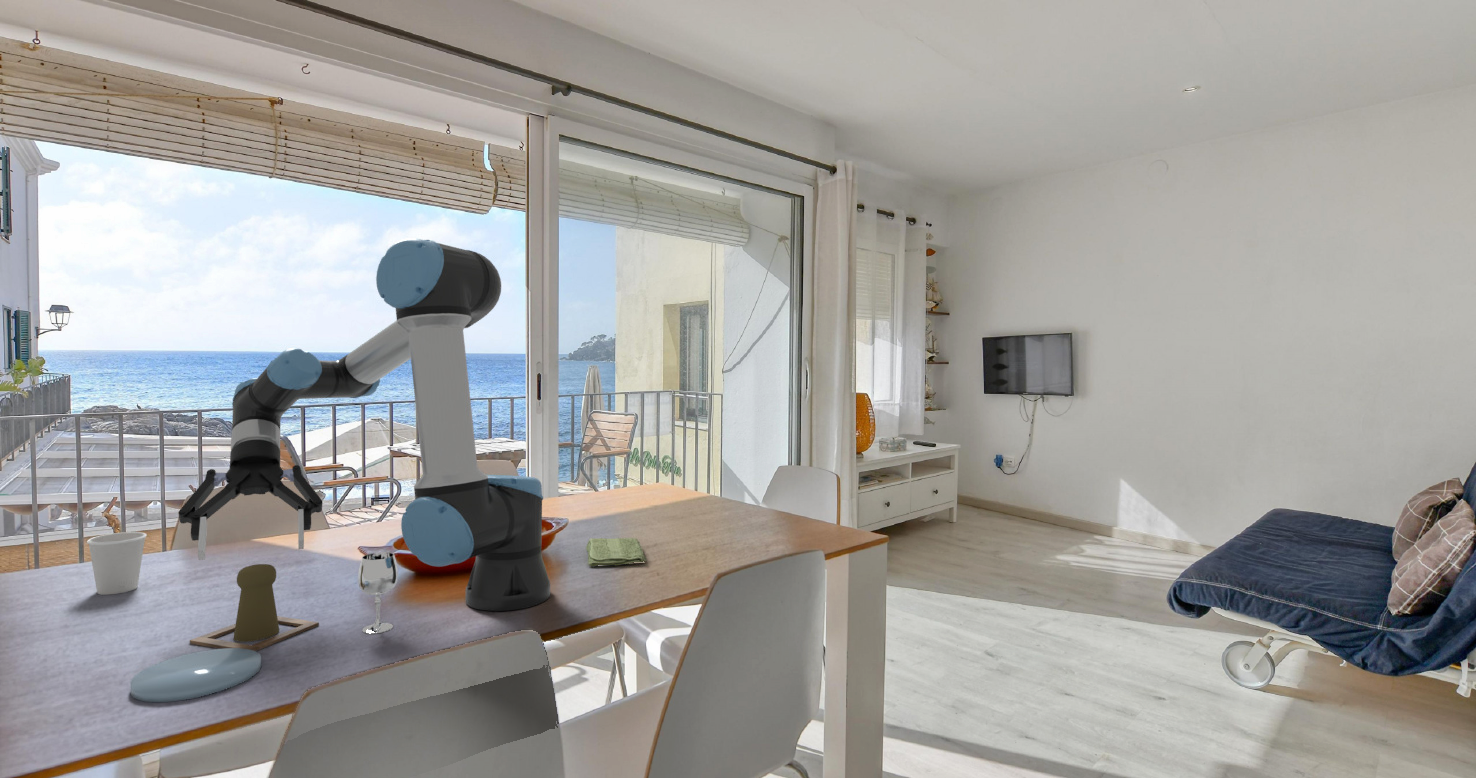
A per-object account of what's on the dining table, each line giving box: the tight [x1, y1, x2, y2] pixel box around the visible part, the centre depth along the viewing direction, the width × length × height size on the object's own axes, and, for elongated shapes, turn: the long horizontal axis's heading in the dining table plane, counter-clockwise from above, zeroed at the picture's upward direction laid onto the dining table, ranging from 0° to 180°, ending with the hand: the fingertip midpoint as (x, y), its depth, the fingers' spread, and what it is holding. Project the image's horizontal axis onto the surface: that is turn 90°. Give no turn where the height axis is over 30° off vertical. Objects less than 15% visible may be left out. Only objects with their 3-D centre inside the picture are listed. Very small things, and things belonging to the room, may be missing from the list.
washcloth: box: [585, 537, 647, 567], centre depth 159 cm, size 13×18×3 cm
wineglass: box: [357, 551, 399, 635], centre depth 112 cm, size 6×6×12 cm
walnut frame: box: [189, 615, 320, 652], centre depth 109 cm, size 12×12×1 cm
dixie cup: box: [86, 531, 148, 596], centre depth 129 cm, size 8×8×10 cm
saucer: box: [130, 648, 262, 703], centre depth 94 cm, size 14×14×1 cm
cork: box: [232, 563, 280, 643], centre depth 109 cm, size 6×6×11 cm
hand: (252, 550), depth 114 cm, fingers open, 13 cm apart
